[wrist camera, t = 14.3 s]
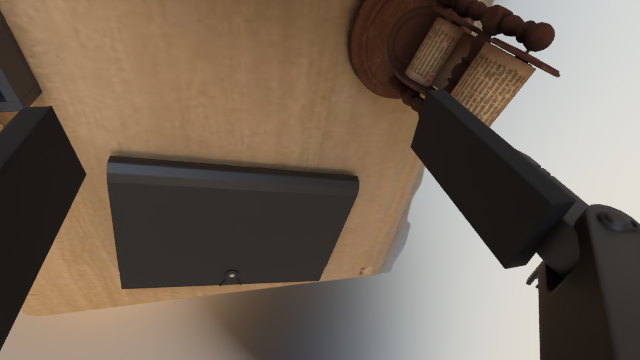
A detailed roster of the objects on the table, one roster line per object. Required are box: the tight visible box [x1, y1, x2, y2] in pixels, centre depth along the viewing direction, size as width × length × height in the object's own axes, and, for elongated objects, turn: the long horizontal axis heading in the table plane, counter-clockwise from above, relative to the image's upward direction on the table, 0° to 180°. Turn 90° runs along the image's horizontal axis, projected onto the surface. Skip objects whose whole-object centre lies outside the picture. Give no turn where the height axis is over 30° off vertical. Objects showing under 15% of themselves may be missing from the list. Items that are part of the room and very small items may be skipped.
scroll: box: [348, 0, 560, 127], centre depth 31 cm, size 15×15×20 cm
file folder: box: [107, 156, 359, 289], centre depth 51 cm, size 33×4×24 cm
